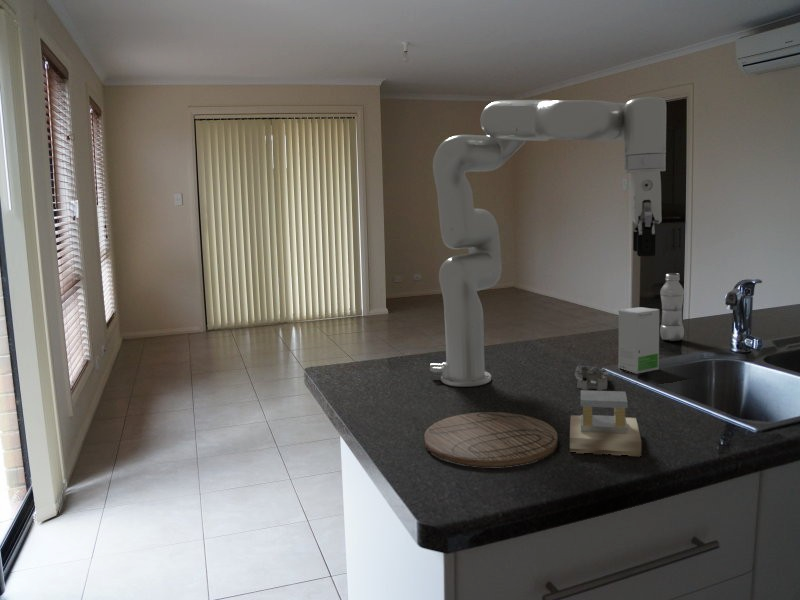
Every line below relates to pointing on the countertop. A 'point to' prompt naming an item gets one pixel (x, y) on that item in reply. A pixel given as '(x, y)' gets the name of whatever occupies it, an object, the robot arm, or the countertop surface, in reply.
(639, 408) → the countertop surface
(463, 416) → the trivet
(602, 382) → the egg carton
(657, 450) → the countertop surface
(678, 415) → the countertop surface
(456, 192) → the robot arm
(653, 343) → the skincare box
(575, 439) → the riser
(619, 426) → the block
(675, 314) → the plastic bottle
